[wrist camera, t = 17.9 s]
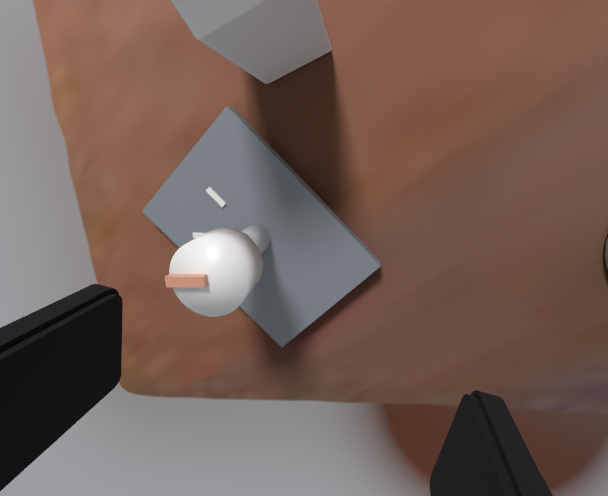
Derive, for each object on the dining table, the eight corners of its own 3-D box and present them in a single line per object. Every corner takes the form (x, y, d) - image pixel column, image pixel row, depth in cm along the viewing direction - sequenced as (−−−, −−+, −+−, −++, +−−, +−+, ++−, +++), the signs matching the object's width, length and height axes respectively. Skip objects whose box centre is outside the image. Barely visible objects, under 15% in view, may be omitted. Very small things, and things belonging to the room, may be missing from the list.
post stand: (379, 260, 37) (385, 298, 28) (285, 338, 42) (262, 394, 32) (234, 108, 35) (186, 93, 26) (152, 208, 40) (86, 227, 30)
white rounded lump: (259, 226, 27) (239, 241, 23) (265, 295, 29) (248, 321, 25) (189, 227, 28) (158, 242, 24) (199, 294, 30) (172, 319, 26)
